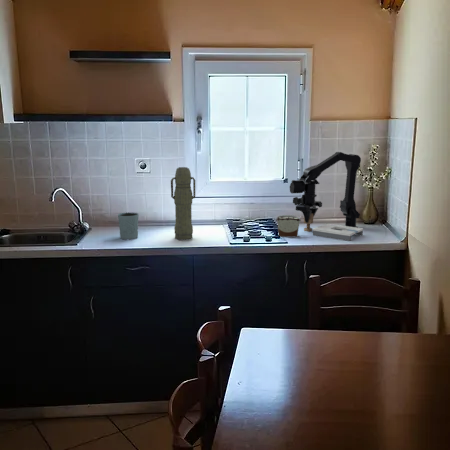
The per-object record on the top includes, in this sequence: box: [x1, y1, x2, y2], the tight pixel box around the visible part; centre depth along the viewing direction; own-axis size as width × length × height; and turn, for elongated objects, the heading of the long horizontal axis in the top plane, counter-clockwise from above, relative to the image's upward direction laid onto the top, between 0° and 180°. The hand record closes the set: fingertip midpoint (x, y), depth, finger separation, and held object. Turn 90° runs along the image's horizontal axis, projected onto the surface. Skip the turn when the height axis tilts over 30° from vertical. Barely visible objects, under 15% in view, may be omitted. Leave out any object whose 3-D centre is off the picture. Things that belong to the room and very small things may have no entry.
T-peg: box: [303, 213, 314, 233], centre depth 280 cm, size 4×4×9 cm
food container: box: [276, 214, 302, 238], centre depth 270 cm, size 12×6×10 cm, turn 84°
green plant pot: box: [117, 212, 140, 241], centre depth 263 cm, size 10×10×12 cm
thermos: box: [170, 166, 196, 241], centre depth 260 cm, size 9×12×35 cm
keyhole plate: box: [312, 223, 364, 242], centre depth 271 cm, size 16×20×4 cm
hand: (308, 221), depth 280 cm, fingers closed on T-peg, 3 cm apart
